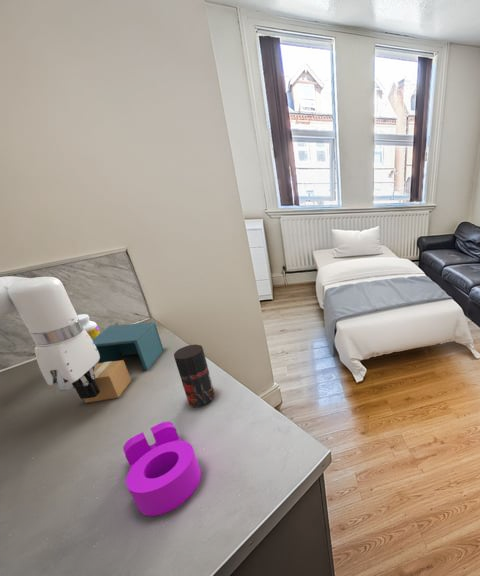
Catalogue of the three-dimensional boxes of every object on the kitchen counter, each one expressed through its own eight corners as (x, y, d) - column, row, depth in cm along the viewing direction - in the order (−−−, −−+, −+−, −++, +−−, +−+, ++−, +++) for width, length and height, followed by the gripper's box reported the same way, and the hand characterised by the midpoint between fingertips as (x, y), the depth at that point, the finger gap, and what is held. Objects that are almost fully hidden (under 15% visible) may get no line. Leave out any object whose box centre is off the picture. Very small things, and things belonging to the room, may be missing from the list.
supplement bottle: (110, 350, 94) (95, 316, 89) (82, 361, 89) (65, 325, 84) (102, 344, 97) (88, 310, 92) (75, 353, 92) (59, 318, 87)
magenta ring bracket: (208, 485, 55) (201, 462, 52) (144, 529, 48) (132, 505, 46) (182, 436, 65) (174, 415, 62) (125, 467, 58) (115, 445, 55)
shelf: (147, 370, 85) (136, 340, 81) (99, 376, 83) (85, 345, 79) (163, 349, 95) (154, 321, 91) (120, 354, 92) (109, 325, 88)
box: (118, 397, 75) (108, 376, 72) (85, 403, 73) (74, 381, 70) (131, 380, 81) (123, 359, 79) (101, 384, 79) (92, 363, 77)
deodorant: (218, 398, 75) (206, 351, 70) (192, 411, 71) (177, 362, 66) (210, 387, 79) (198, 341, 73) (185, 399, 75) (170, 351, 69)
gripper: (64, 318, 69) (93, 378, 77) (5, 353, 56) (47, 422, 63) (100, 314, 71) (126, 374, 78) (51, 348, 58) (88, 416, 65)
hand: (90, 395), depth 71 cm, fingers closed
